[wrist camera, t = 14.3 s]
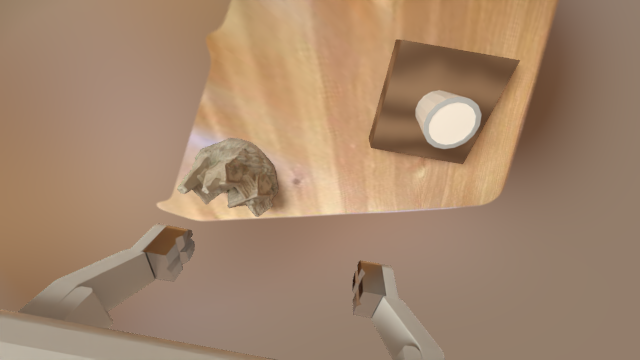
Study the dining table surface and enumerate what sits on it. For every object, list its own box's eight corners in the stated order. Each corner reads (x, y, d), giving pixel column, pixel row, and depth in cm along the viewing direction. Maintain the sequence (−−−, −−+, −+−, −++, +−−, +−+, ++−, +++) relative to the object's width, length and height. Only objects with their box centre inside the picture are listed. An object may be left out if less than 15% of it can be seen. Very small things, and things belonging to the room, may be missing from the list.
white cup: (468, 109, 35) (492, 125, 29) (427, 139, 38) (441, 158, 32) (442, 75, 33) (463, 84, 27) (401, 109, 36) (412, 124, 30)
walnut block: (395, 39, 35) (402, 39, 31) (499, 57, 35) (520, 60, 31) (368, 137, 44) (370, 147, 40) (451, 151, 44) (462, 164, 39)
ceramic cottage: (188, 146, 48) (138, 191, 35) (261, 131, 45) (235, 173, 33) (222, 202, 56) (192, 254, 44) (286, 192, 54) (272, 244, 41)
